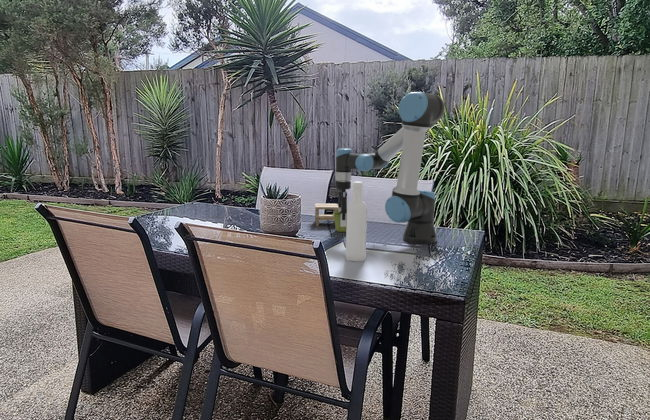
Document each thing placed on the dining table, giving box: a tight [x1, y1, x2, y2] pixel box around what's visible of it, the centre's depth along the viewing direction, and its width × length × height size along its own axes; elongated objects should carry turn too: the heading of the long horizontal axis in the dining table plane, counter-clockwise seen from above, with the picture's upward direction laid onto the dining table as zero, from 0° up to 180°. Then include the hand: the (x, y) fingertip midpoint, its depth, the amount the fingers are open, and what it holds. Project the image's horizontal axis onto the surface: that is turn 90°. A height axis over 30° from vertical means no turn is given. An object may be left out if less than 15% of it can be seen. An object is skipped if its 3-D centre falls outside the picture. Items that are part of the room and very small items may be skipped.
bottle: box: [345, 181, 368, 262], centre depth 165 cm, size 8×8×30 cm
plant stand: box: [314, 202, 339, 227], centre depth 229 cm, size 12×12×10 cm
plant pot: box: [332, 212, 347, 233], centre depth 213 cm, size 9×9×9 cm
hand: (341, 223), depth 214 cm, fingers open, 13 cm apart
